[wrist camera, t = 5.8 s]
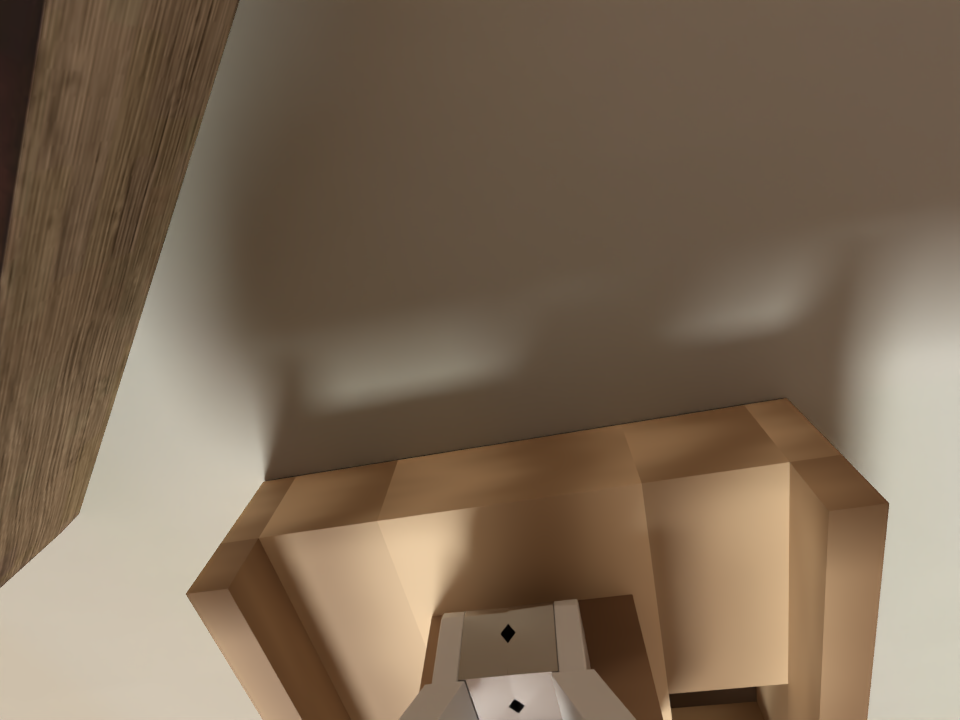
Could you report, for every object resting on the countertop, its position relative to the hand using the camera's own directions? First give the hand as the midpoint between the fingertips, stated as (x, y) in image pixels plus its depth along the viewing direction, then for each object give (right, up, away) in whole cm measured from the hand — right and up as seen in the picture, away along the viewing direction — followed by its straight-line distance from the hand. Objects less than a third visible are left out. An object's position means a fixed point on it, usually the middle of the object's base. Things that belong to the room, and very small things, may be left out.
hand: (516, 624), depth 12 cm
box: (+2, -6, +7) cm, 9 cm away
